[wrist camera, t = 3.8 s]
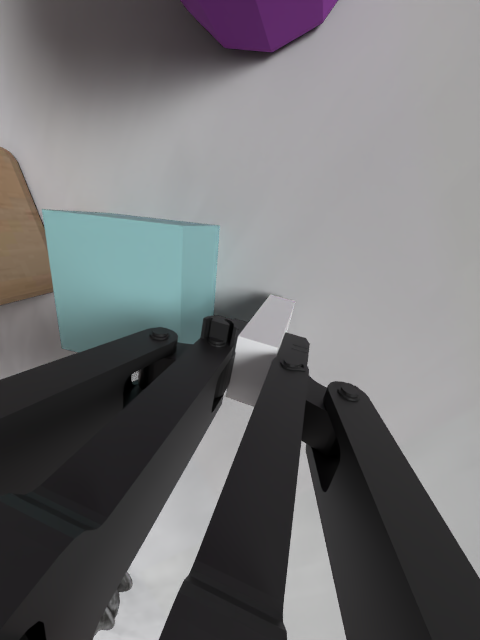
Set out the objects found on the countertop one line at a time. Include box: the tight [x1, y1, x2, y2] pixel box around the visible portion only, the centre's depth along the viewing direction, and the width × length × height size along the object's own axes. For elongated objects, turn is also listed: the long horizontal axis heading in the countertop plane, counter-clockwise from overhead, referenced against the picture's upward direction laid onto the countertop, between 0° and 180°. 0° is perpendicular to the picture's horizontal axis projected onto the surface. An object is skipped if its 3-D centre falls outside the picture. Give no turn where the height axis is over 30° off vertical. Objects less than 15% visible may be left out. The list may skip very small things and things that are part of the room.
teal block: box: [42, 209, 220, 353], centre depth 17 cm, size 8×8×5 cm
